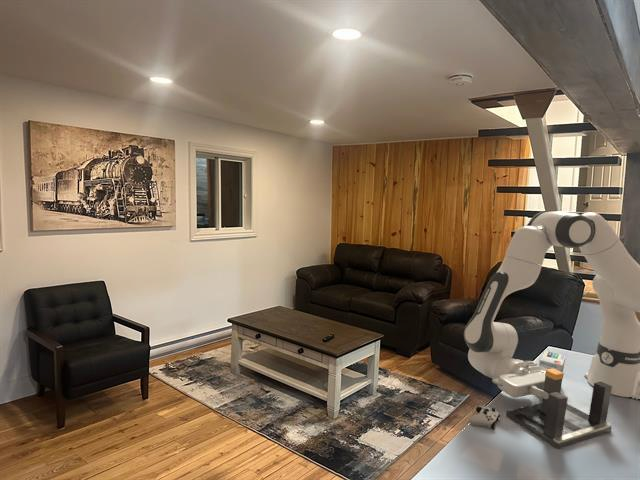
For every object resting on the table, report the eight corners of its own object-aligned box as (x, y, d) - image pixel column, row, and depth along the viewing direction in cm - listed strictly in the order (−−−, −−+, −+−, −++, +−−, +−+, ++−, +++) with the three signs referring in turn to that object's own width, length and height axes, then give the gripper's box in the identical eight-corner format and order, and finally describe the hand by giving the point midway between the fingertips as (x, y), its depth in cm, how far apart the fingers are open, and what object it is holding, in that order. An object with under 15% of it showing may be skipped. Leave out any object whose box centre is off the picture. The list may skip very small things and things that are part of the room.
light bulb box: (539, 379, 148) (543, 349, 147) (561, 385, 145) (566, 355, 143) (534, 390, 140) (539, 359, 138) (558, 397, 136) (562, 365, 134)
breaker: (547, 408, 124) (553, 368, 123) (557, 414, 122) (563, 373, 120) (539, 410, 123) (545, 369, 121) (550, 416, 120) (556, 374, 119)
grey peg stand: (556, 403, 132) (562, 364, 130) (611, 432, 118) (618, 388, 116) (505, 416, 122) (511, 374, 121) (557, 449, 108) (565, 402, 106)
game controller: (475, 406, 125) (492, 398, 122) (487, 424, 124) (505, 415, 121) (466, 421, 117) (484, 411, 114) (479, 439, 116) (497, 430, 113)
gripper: (489, 368, 128) (530, 390, 116) (536, 360, 137) (578, 379, 125) (487, 388, 129) (527, 412, 117) (534, 379, 138) (575, 399, 126)
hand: (554, 395), depth 121 cm, fingers closed on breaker, 3 cm apart
